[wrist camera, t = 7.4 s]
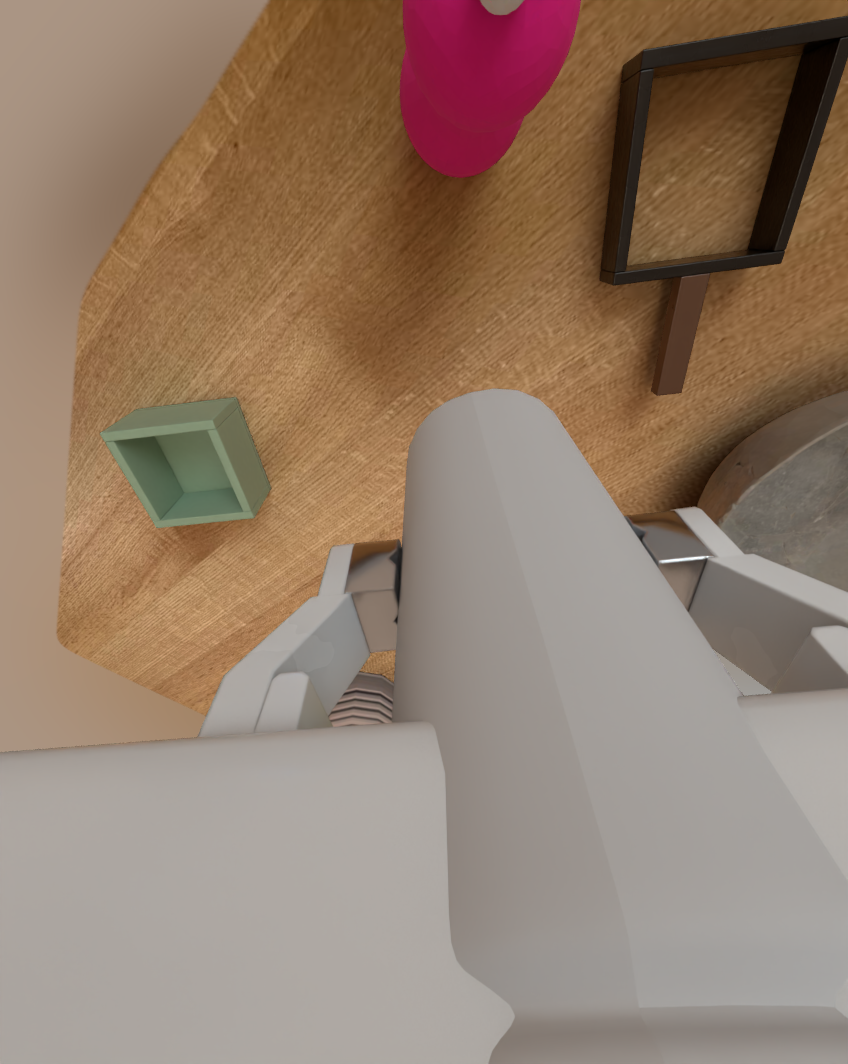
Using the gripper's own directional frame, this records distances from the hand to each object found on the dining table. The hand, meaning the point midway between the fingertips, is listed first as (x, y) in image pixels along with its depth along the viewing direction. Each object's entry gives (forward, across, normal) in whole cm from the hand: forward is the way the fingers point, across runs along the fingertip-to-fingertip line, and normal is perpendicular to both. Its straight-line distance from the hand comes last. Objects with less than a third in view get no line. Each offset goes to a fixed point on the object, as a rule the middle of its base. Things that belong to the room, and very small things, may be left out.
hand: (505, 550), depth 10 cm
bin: (+31, +24, +10) cm, 40 cm away
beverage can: (+5, 0, 0) cm, 5 cm away
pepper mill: (+31, -2, -11) cm, 33 cm away
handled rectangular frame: (+31, -18, -2) cm, 36 cm away
